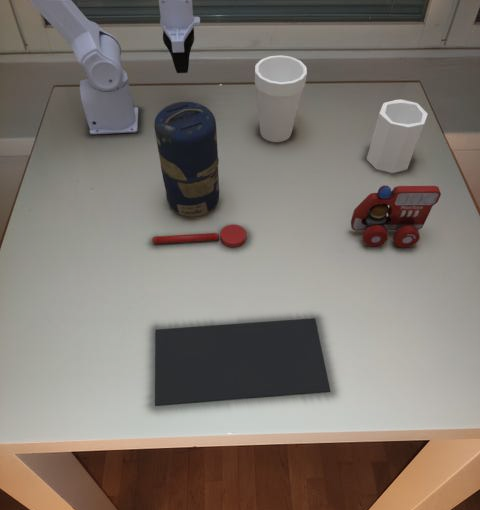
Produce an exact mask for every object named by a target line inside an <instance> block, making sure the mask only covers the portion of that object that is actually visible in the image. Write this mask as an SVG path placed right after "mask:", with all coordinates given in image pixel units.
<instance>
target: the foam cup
mask: <svg viewBox="0 0 480 510" xmlns="http://www.w3.org/2000/svg"><path fill="white" fill-rule="evenodd" d="M254 70H255V71H254V85H255V91H256V102H257V103H256V104H257V111H258V123H259V124H258V125H259V132H260V135H261V137H262V138H263V139H264V140H266V141H268V142H272V143H280V142H281V143H282V142H284V141H287V140H289V138H290V137H291V136H292V133H293V130H294V125H295V121H296V118H297V113H298V110H299V107H300V103H301V99H302V95H303V92H304V88H305V87H306V82H307V74H308V71H307V66H306V64H305V63H303V62H302V61H301V60H300V59H298V58H295V57H293V56H289V55H281V54H280V55H278V54H277V55H270V56H266V57H264V58H262V59H260V60H259V61H258V62H257V63H256V64H255V67H254Z"/></svg>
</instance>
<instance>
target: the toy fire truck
mask: <svg viewBox="0 0 480 510" xmlns="http://www.w3.org/2000/svg"><path fill="white" fill-rule="evenodd" d="M441 195H442V193H441V190H440V188H439V186H438V185H396V186H395V187H393V189H392V188H391V187H390V186H388V185H382V186H380V187H379V188H378V190H377V192H371V193H369V194H368V195H367V196H366V197H365V198H364V199H362V201H361V202H359V204H358V205H357V206H356V207H355V208H354V210H353V212H352V216H351V219H350V227H351V229H352V230H353V231H357V232H358V231H362V240H363V243H364V244H365V245H366V246H369V247H378V246H382V245H383V244H385V243H386V242H387V241H388V239H389V233H388V232H389V231H394V233H393V235H392V239H393V243H394V245H395V246H396V247H398V248H401V249H402V248H409V247H413V246H414V245H416V244H417V243H418V242H419V240H420V238H421V237H420V232H419V230H421V229H422V228H423V227H424V226H425V223H426V221H427V219H428V217H429V215H430V212H431V210H432V209H433V206H434V205H436V204H437V203H438V202H439V200H440V197H442V196H441Z"/></svg>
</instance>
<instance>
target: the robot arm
mask: <svg viewBox="0 0 480 510" xmlns="http://www.w3.org/2000/svg"><path fill="white" fill-rule="evenodd" d="M28 2H29V3H30V4H31V5H32V6H33V7H34V8H35V9H36V10H37V11H38V12H39V14H40V15H41V16H42V17H43V18H44V19H45V20H46V21H47V22H48V23H49V24H50V25H51V27H53V28H54V29H55V31H57V33H58V34H59V35H60V36H61V37H62V38H63V39H64V40H65V41H66V42H67V43H68V44H69V45H70V48H71V49H72V52H73V54H74V56H75V58H76V60H77V63H78V64H79V65H80V66H81V67H82V68H83V69H84V71H85V73H86V75H87V78H86V79H80V82H79V95H80V101H81V105H82V108H83V111H84V115H85V118H86V122H87V125H88V128H89V134H90V135H110V134H128V133H137V132H138V129H139V128H138V127H139V126H138V125H139V108H138V107H134V102H133V96H132V92H131V87H130V81H129V77H128V73H127V72H126V70H125V69H124V68H123V66H122V47H121V43H120V42H119V40H118V39H117V38H116V37H115V36H114V35H112V34H111V33H109V32H107V31H105V30H104V29H102V28H101V26H100V25H99V24H98V23H96V22H94V21H93V20H92V21H91V20H90V19H88V18H87V17H86V16H85V14H84V13H83V12H82V11H81V10H80V9H79V7H78V6H77V5H76V4H75V3H74V2H73V0H28ZM158 7H159V8H158V9H159V14H160V18H159V23H160V24H159V25H160V27H161V29H162V31H163V32H162V41H163V44H164V45H165V47H166V48H167V50H168V52H169V55H170V56H171V60H172V63H173V67H174V69H175V72H176V74H187V73H188V72H189V66H190V56H191V55H190V54H191V50H192V47H193V45H194V42H195V27H200V26H201V17H200V16H194V8H193V0H158Z"/></svg>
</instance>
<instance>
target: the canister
mask: <svg viewBox="0 0 480 510" xmlns="http://www.w3.org/2000/svg"><path fill="white" fill-rule="evenodd" d="M153 126H154V131H155V139H156V145H157V151H158V157H159V163H160V169H161V174H162V181H163V185H164V188H165V195H166V202H167V205H168V207H169V208H170V209H171V210H172V211H173V212H175V213H176V214H178V215H180V216H185V217H191V218H193V217H201V216H203V215H206V214H208V213H211V211H213V210H214V209H215V208H216V206H217V204H218V203H219V199H220V180H219V178H220V177H219V161H220V160H219V154H218V153H219V149H218V134H217V133H218V132H217V121H216V118H215V115H214V113H213V112H212V111H211V110H210V108H208V107H207V106H206V105H203V104H201V103H197V102H195V101H179V102H174V103H171V104H169V105H167V106H164V107H163V108H162V109H161V110H160V111H159V112H158V113H157V115H156V116H155V118H154V123H153Z"/></svg>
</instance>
